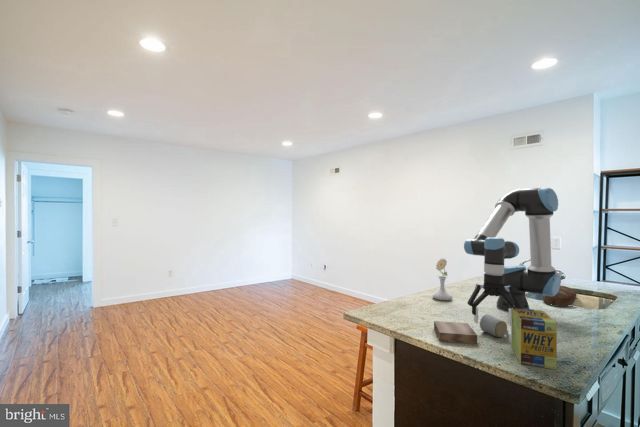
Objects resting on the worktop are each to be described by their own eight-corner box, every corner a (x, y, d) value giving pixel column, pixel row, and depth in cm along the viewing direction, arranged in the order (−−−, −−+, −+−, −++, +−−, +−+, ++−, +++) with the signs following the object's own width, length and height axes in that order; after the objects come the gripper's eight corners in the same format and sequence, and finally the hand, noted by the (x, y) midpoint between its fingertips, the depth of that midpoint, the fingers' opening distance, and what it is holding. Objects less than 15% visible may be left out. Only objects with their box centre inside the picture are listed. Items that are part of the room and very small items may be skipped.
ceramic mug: (496, 339, 129) (496, 320, 129) (479, 332, 136) (479, 314, 136) (513, 336, 133) (514, 317, 133) (496, 329, 140) (496, 312, 140)
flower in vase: (430, 296, 196) (430, 256, 196) (449, 297, 194) (449, 256, 194) (435, 302, 183) (435, 259, 183) (455, 303, 181) (456, 259, 181)
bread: (537, 304, 181) (537, 289, 181) (548, 293, 207) (548, 280, 208) (572, 310, 170) (572, 294, 170) (578, 297, 197) (578, 284, 197)
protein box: (520, 364, 107) (520, 319, 107) (510, 346, 122) (511, 306, 122) (557, 370, 103) (557, 323, 103) (543, 351, 118) (543, 309, 118)
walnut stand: (467, 331, 137) (467, 323, 137) (477, 344, 123) (477, 335, 123) (434, 328, 140) (434, 320, 140) (439, 341, 126) (439, 332, 126)
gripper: (522, 273, 136) (521, 323, 135) (460, 270, 140) (459, 318, 140) (530, 277, 128) (529, 329, 128) (464, 273, 133) (464, 324, 133)
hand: (493, 323), depth 134 cm, fingers open, 13 cm apart
